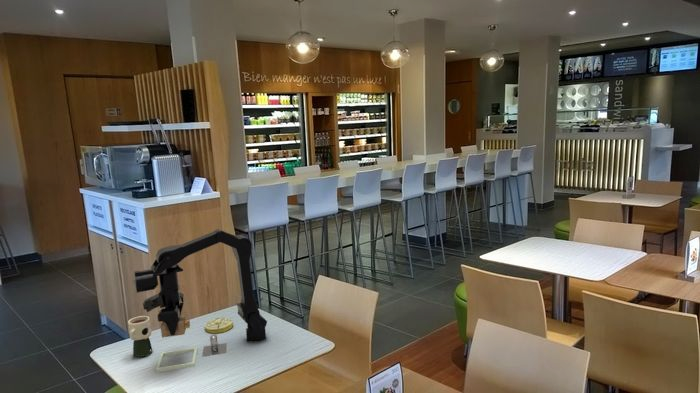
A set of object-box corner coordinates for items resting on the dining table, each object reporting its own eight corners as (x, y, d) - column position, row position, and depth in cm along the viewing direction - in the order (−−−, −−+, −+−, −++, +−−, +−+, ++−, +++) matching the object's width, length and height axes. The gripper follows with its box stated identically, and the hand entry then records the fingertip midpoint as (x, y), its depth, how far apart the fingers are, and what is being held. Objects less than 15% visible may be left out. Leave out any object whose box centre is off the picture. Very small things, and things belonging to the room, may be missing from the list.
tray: (197, 351, 168) (197, 347, 167) (194, 368, 156) (194, 363, 156) (161, 357, 165) (161, 352, 165) (156, 374, 153) (155, 369, 153)
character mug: (144, 361, 162) (140, 326, 161) (125, 361, 163) (120, 326, 161) (160, 347, 173) (156, 313, 171) (141, 347, 174) (137, 313, 172)
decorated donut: (219, 323, 193) (218, 314, 192) (238, 327, 187) (238, 318, 187) (199, 333, 184) (198, 323, 183) (219, 338, 178) (218, 328, 178)
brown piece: (165, 329, 161) (163, 317, 161) (191, 325, 163) (189, 314, 163) (161, 337, 155) (160, 326, 154) (189, 333, 157) (187, 322, 156)
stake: (226, 345, 172) (225, 330, 171) (226, 355, 164) (224, 339, 163) (203, 348, 170) (202, 333, 169) (202, 358, 162) (200, 342, 161)
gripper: (148, 280, 164) (153, 323, 166) (137, 298, 146) (143, 346, 148) (182, 276, 166) (186, 318, 169) (175, 294, 148) (180, 341, 151)
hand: (174, 330), depth 159 cm, fingers closed on brown piece, 7 cm apart
